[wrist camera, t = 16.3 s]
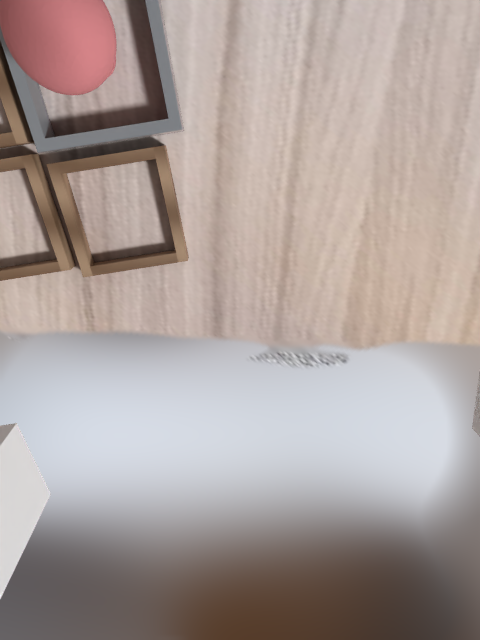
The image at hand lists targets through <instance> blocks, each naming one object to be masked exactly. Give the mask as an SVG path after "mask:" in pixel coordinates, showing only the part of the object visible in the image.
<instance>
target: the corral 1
mask: <svg viewBox="0 0 480 640" xmlns="http://www.w3.org/2000/svg"><path fill="white" fill-rule="evenodd" d="M0 98H1V101H2V104H3V107H4V110H5V112H6V115H7V118H8V121H9V124H10V127H11V129H12V132H9V133H3V134H0V148H5V147H12V146H18V145H24V144H30V143H34V140H33V137H32V134H31V131H30V128H29V125H28V122H27V119H26V116H25V113H24V110H23V107H22V104H21V101H20V98H19V95H18V92H17V89H16V86H15V83H14V80H13V77H12V74H11V71H10V68H9V65H8V62H7V59H6V56H5V53H4V50H3V47H2V44H1V41H0Z"/></svg>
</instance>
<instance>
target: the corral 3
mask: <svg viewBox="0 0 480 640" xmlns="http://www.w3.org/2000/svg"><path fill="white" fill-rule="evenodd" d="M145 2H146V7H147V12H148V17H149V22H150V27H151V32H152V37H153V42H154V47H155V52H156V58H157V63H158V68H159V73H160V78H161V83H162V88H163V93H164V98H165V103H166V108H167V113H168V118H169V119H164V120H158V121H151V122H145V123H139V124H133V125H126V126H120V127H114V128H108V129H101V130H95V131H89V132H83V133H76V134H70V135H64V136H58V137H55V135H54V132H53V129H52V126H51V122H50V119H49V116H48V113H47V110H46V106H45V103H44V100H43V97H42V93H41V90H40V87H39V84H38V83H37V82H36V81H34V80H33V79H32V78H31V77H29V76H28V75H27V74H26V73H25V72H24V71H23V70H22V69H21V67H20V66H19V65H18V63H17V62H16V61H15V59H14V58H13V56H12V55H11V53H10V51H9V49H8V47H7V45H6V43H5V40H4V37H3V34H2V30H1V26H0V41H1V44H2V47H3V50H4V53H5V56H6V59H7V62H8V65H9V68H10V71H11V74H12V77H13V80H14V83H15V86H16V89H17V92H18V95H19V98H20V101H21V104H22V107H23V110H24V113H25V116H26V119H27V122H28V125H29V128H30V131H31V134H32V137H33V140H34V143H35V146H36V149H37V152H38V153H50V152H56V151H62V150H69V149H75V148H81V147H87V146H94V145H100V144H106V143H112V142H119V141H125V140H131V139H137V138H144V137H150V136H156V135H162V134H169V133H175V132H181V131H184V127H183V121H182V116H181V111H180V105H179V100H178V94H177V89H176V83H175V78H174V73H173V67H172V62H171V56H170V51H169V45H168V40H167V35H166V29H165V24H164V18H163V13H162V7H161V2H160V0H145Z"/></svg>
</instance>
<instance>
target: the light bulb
mask: <svg viewBox="0 0 480 640" xmlns="http://www.w3.org/2000/svg"><path fill="white" fill-rule="evenodd" d="M0 26H1V30H2V34H3V37H4V40H5V43H6V45H7V47H8V49H9V51H10V53H11V55H12V56H13V58H14V59H15V61H16V62H17V63H18V65H19V66H20V67H21V69H22V70H23V71H24V72H25V73H26V74H27V75H28V76H29V77H31V78H32V79H33V80H34V81H36V82H37V83H38V84H40V85H41V86H43V87H45V88H47V89H49V90H51V91H54V92H56V93H60V94H66V95H80V94H85V93H88V92H91V91H92V90H94V89H96V88H97V87H99V86H100V85H101V84H102V83H103V82H104V81H105V80H106V79H107V77H109V76H110V75H111V74H112V73H113V71H114V68H115V64H116V34H115V29H114V25H113V22H112V18H111V16H110V14H109V11H108V9H107V7H106V5H105V3H104V2H103V0H0Z"/></svg>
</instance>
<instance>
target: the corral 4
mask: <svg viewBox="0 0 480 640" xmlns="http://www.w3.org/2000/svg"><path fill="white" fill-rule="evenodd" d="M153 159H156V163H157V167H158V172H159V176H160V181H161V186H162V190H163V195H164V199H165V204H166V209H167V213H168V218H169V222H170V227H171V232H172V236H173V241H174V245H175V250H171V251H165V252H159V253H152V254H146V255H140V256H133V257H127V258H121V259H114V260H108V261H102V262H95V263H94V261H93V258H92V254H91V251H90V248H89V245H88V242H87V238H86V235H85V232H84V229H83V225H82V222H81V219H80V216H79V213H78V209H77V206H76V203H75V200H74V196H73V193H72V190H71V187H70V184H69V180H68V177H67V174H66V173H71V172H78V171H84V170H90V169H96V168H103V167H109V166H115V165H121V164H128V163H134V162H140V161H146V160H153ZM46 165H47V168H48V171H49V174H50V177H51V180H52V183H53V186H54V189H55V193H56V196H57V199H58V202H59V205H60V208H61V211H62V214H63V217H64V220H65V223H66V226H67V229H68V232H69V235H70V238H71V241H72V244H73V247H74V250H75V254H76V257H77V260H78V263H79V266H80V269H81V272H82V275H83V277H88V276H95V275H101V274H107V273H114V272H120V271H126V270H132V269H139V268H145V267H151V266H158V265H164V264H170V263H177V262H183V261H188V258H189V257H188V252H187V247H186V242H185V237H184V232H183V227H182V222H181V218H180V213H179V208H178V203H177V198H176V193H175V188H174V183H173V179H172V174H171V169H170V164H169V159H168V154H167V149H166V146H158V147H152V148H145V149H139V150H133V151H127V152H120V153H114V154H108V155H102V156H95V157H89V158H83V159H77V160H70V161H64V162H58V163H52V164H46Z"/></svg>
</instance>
